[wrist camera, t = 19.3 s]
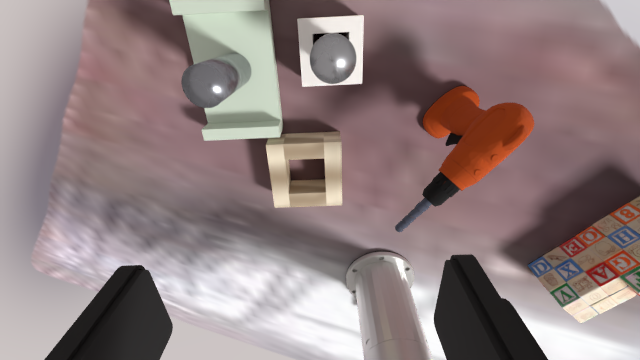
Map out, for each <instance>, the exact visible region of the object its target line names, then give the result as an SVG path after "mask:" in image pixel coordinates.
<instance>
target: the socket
mask: <svg viewBox="0 0 640 360" xmlns="http://www.w3.org/2000/svg"><path fill="white" fill-rule="evenodd" d="M266 151H267V158H268V164H269V171H270V178H271V185H272V192H273V199H274V206H275V208H280V207H307V206H334V205H342V163H341V137H340V131H338V132H316V133H293V134H281V135H280V137H275V138H268V141H267V143H266ZM323 158H324V160H325V179H317V180H292V181H291V175H290V165H289V160H299V159H323Z"/></svg>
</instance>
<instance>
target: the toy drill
mask: <svg viewBox="0 0 640 360" xmlns="http://www.w3.org/2000/svg"><path fill="white" fill-rule="evenodd" d="M478 106H479V97H478V95H477V94H476V92H474V91H473V90H472V89H471V88H469V87H466V86H459V87H456V88H454V89H452V90H450V91H448V92H447V93H446V94H444V95H443V96H442V97H440V98H439V99H438V100H437V101H436V102H435V103H434V104H433V105H432V106H431V107H430V108H429V109H428V110H427V112H426V113H425V115H424V118H423V126H424V128H425V130H426V131H427V132H428V133H429V134H430V135H431V136H433V137H435V138H442V137H444V136H446V135H448V134H450V135H449V137H448V139H447V142H446V146H449V145H452V144H457V145H456V146H455V148H454V149H453V150H452V151H451V153H450V154H449V155H448V157H447V158H446V159H445V161H444V162H443V164H442V166H441V168H440V169H439V171H440V173H439V174H438V175H437V176H436V177H435V178H434V179H433V180H432V182H431V183H430V184H429V185H428V186H427V187H426V188H425V189H424V191H423V196H424V197H425V198H424V199H423V200H422V201H421V202H420V203H418V204H417V205H416V207H415V208H414V209H413V210H412V211H411V212H410V213H409V214H408V215H407V216H405V217H404V218H403V219H402V221H400V222H399V223H398V224H397V225H396V226H395V229H396V231H398V232H402V231H403V229H405V228H406V227H407V226H408V225H409V224H410V223H412V222H413V221H414V220H415V219H416V217H418V216H419V215H421V214H422V213H423V212H424V211H426V210H427V209H428V208H429V206H430V205H431V204H432V205H434V206H439V205H441V204H442V203H444V202H445V201H446V200H447V199H448V198H449V197H452V196H453V195H454V194H455V193H456V192H458V191H459V190H461V191H463V190H464V189H465V188H466V187H469V186H471V185H473V184H475V183H477V182H478V181H479V180H481V179H482V178H483V177H484V176H485V175H486V174H488V173H489V172H490V171H491V170H492V169H493V168H494V167H496V166H497V165H498V164H499V163H500V162H502V161H503V160H504V159H505V158H506V157H507V156H508V155H509V154H511V153H512V152H513V151H514V150H515V149H516V148H517V147H518V146H519V145H520V144H521V143H522V142H523V141H524V140H525V139H526V138H527V137H528V135H529V134H530V133H531V131H532V130H533V127H534V120H533V117H532V115H531V113H530V112H529V111H528V110H527V108H525V107H524V106H522V105H520V104H517V103H502V104H497V105H495V106H492V107H491V108H489V109H488V110H487V111H485V110H482V109H480V108H478Z"/></svg>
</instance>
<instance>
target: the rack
mask: <svg viewBox="0 0 640 360" xmlns="http://www.w3.org/2000/svg"><path fill="white" fill-rule="evenodd" d="M169 1H170V5H171V9H172V13H173V15H182V16H183V20H184V24H185V28H186V33H187V37H188V41H189V45H190V50H191V54H192V58H193V62H194V64H197V63H200V62H203V61H206V60H209V59H212V58H216V57H219V56H222V55H225V54H228V53H239V54H241V55H243V56H244V57H245V58H246V59H247V60H248V62H249V64H250V66H251V77H250V79H249V81H248V82H247V83H246V84H245V85H243V86H242V87H241V88H239V89H238V90H237V91H236V92H234V93H233V94H232V95H230V96H229V97H228V98H226V99H225V100H224V101H222V102H221V103H220V104H218V105H217V106H215V107H212V108H204V109H205V113H206V117H207V122H208V124H207V125H206V126H205V127H204V128H203V129H202V134H203V138H204V141H207V140H230V139H252V138H275V137H280V135H281V132H282V130H283V120H282V111H281V102H280V93H279V84H278V75H277V66H276V57H275V48H274V40H273V31H272V22H271V13H270V4H269V0H169Z"/></svg>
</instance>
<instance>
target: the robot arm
mask: <svg viewBox="0 0 640 360" xmlns="http://www.w3.org/2000/svg"><path fill="white" fill-rule="evenodd" d="M413 282H414V272H413V269H412V266H411V264H410V263H409V262H408V261H407V260H406V259H405V258H404V257H402V256H400V255H398V254H395V253H391V252H373V253H370V254H366V255H364V256H362V257H360V258H358V259H357V260H355V261H354V262H353V263H352V264H351V266H350V267H349V269H348V271H347V273H346V284H347V288H348V289H349V291H350V293H351V294H352V295H353V296H355V297H356V298H357V305H358V313H359V322H360V330H361V338H362V346H363V354H364V360H433V359H432V355H431V352H430V349H429V346H428V343H427V340H426V337H425V334H424V331H423V328H422V325H421V322H420V318H419V315H418V312H417V309H416V306H415V303H414V300H413V297H412V294H411V290H410V288H411V286H412V285H413ZM434 324H435V328H436V331H437V334H438V337H439V339H440V342H441V345H442V348H443V350H444V353H445V356H446V359H447V360H548V359H547V357H546V356H545V354H544V353H543V351H542V350H541V348H540V347H539V345H538V343H537V342H536V340H535V339H534V337H533V336H532V334H531V333H530V331H529V330H528V328H527V327H526V325H525V324H524V322H523V321H522V319H521V318H520V316H519V315H518V313H517V311H516V310H515V308H514V307H513V306H512V304H511V303H510V302H509V301H507V300H506V299H503V298H501V297H500V296H499V294H498V293H497V291H496V289H495V288H494V286H493V285H492V283H491V281H490V280H489V278H488V277H487V275H486V274H485V272H484V270H483V269H482V267H481V266H480V264H479V262H478V261H477V259H476V258H475V257H474V256H473V255H452V256H451V259H450V260H446V261H445V265H444V270H443V275H442V280H441V284H440V289H439V294H438V299H437V304H436V309H435V313H434ZM172 328H173V327H172V322H171V319H170V317H169V315H168V313H167V310H166V308H165V306H164V304H163V301H162V299H161V297H160V295H159V292H158V290H157V288H156V286H155V283H154V281H153V279H152V277H151V274H150V272H149V271H148V270H145V268H144V267H143V266H142V265H134V266H121V267H119V268H118V269H117V270H116V271H115V272H114V274H113V275H112V276H111V277H110V279H109V280H108V281H107V282H106V284H105V285H104V286H103V287H102V289H101V290H100V291H99V292H98V294H97V295H96V296H95V297H94V299H93V300H92V301H91V303H90V304H89V305H88V306H87V307H86V309H85V310H84V311H83V312H82V314H81V315H80V316H79V317H78V319H77V320H76V321H75V322H74V324H73V325H72V326H71V327H70V329H69V330H68V331H67V332H66V334H65V335H64V336H63V337H62V339H61V340H60V341H59V342H58V344H57V345H56V346H55V347H54V348H53V350H52V351H51V352H50V354H49V355H48V356H47V357H46V358H45V360H160V357H161V355H162V353H163V351H164V349H165V347H166V345H167V343H168V340H169V338H170V336H171V333H172Z"/></svg>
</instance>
